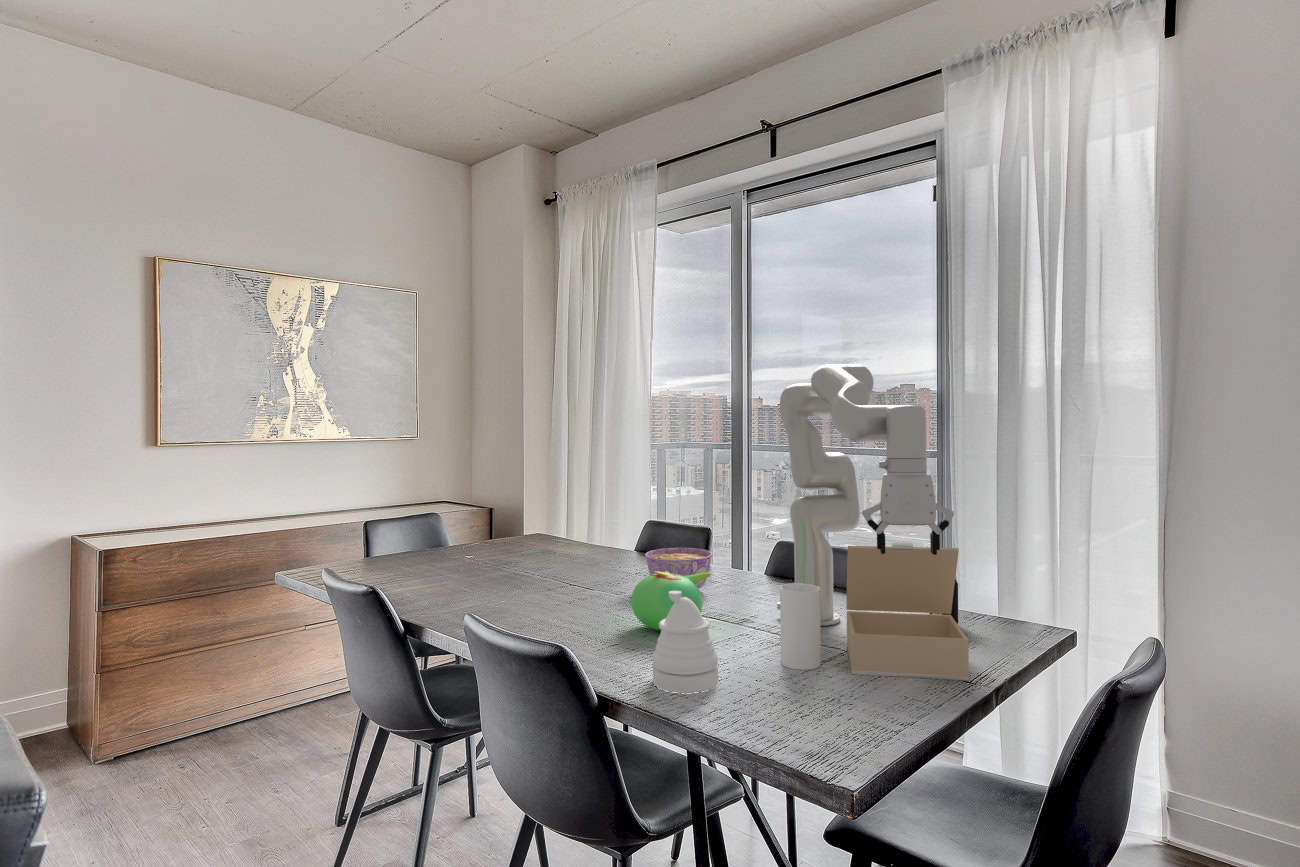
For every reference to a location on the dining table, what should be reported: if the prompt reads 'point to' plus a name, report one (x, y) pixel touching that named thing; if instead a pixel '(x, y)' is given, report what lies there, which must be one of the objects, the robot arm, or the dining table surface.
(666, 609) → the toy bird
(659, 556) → the bowl of food
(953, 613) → the beverage can
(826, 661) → the dining table surface
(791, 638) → the cup
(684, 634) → the honey pot
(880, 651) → the mailer box
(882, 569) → the lid
